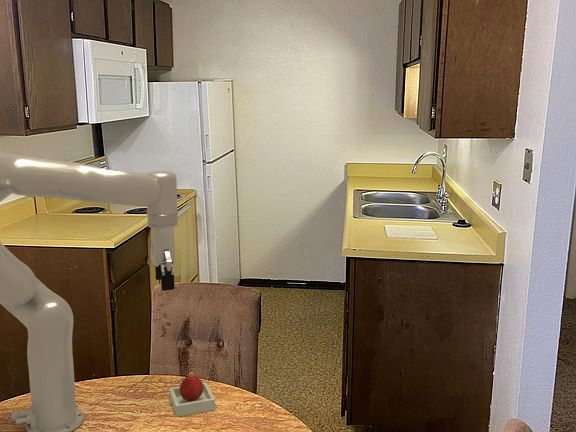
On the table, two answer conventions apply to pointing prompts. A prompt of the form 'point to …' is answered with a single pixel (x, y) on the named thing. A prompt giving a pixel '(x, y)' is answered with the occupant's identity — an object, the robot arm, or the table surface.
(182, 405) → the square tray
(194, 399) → the onion
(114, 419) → the table surface
